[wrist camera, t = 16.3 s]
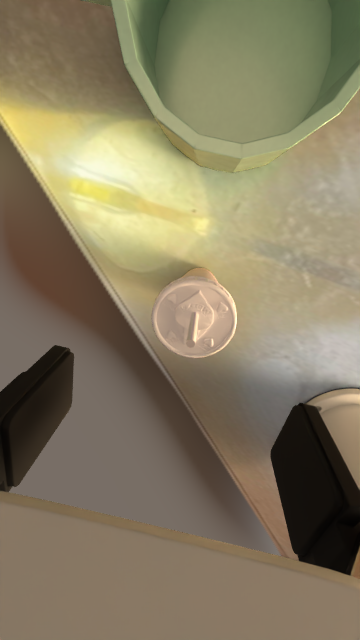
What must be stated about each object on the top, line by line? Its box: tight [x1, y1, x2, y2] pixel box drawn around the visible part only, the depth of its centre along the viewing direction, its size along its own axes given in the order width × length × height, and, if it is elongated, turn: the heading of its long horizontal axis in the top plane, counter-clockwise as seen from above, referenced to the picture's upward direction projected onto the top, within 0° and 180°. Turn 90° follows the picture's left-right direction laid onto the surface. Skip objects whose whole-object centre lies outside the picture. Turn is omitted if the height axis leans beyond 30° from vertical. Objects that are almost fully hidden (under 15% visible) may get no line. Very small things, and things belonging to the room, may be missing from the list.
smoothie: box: [152, 268, 237, 358], centre depth 22 cm, size 6×6×14 cm
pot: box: [82, 0, 360, 173], centre depth 17 cm, size 15×20×8 cm
